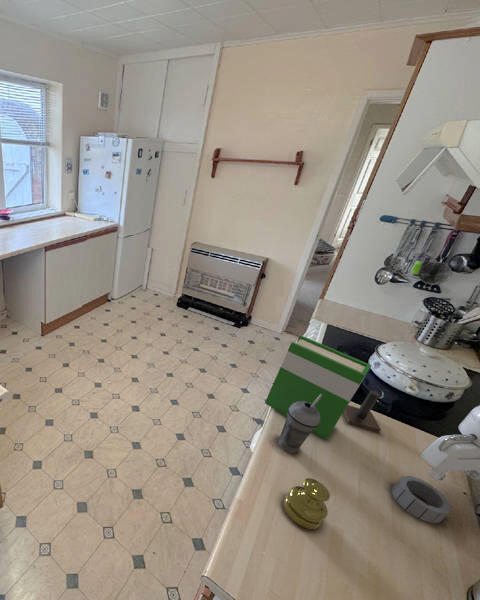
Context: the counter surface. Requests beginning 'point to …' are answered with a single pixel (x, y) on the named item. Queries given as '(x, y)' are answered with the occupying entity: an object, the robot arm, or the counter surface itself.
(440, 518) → the grey faceted ring
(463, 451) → the robot arm
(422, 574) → the counter surface
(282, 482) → the counter surface
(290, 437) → the beverage cup
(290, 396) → the hardback book
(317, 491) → the brass knobbed weight
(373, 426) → the peg stand
